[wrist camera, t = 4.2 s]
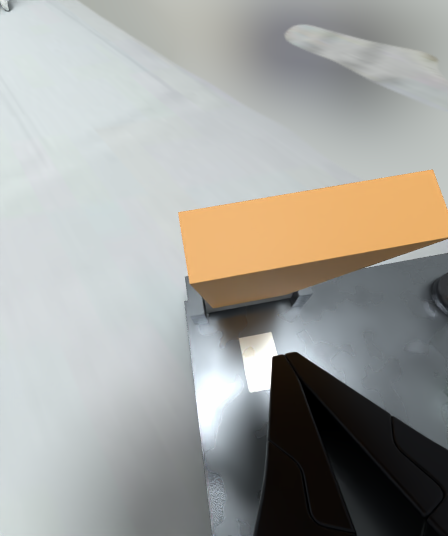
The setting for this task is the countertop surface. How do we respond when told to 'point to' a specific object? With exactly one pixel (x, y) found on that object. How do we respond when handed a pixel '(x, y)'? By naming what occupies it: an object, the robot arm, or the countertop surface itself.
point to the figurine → (4, 4)
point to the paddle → (307, 237)
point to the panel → (322, 354)
